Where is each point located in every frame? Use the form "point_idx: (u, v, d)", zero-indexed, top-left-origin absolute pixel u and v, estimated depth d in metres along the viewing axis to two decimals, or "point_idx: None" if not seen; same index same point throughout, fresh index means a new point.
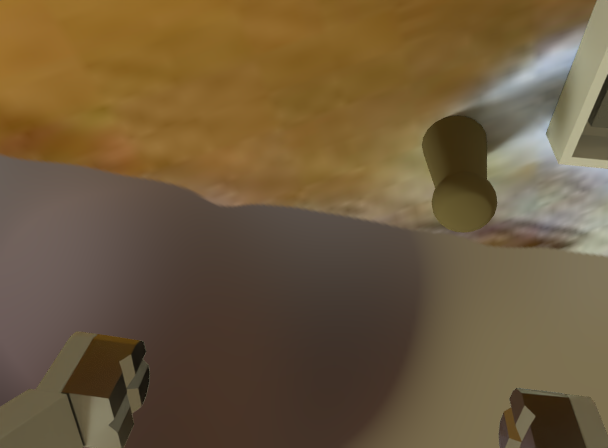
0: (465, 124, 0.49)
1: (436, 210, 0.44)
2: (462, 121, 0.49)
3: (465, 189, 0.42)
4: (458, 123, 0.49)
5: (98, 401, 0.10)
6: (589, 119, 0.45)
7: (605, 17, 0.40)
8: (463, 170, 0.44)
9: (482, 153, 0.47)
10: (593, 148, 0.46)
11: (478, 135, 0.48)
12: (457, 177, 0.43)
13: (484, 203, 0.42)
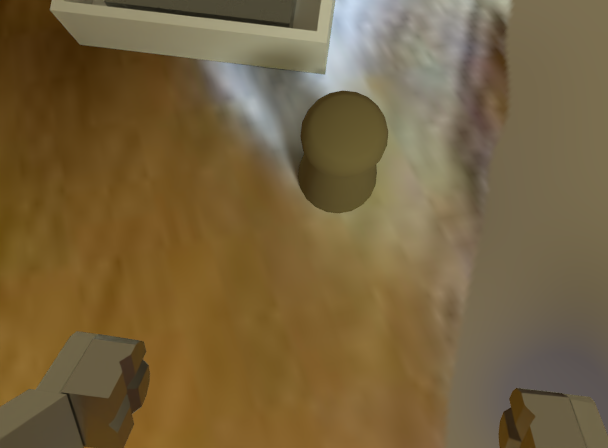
0: None
1: (345, 167, 0.30)
2: (299, 166, 0.40)
3: (306, 132, 0.31)
4: (299, 169, 0.40)
5: (98, 401, 0.10)
6: None
7: (172, 39, 0.40)
8: None
9: None
10: None
11: None
12: None
13: (326, 104, 0.31)
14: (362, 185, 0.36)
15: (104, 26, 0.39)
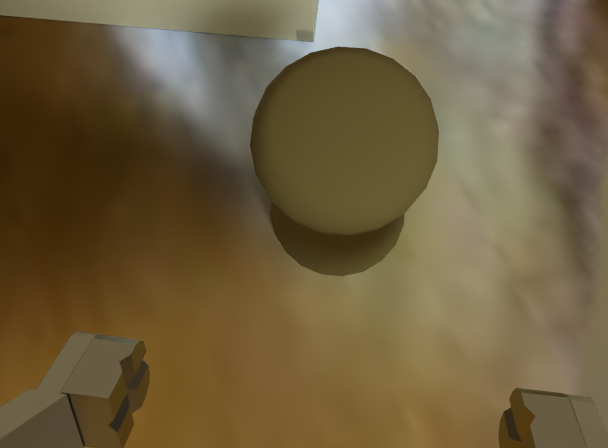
0: None
1: (347, 215, 0.14)
2: None
3: (259, 137, 0.14)
4: None
5: (98, 401, 0.10)
6: None
7: None
8: None
9: None
10: None
11: None
12: (256, 168, 0.15)
13: (300, 74, 0.14)
14: (382, 235, 0.19)
15: None
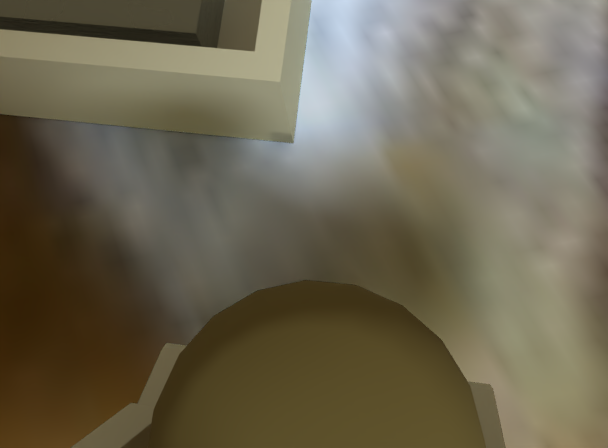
0: None
1: None
2: None
3: None
4: None
5: None
6: None
7: None
8: None
9: None
10: None
11: None
12: None
13: (229, 366, 0.07)
14: None
15: None
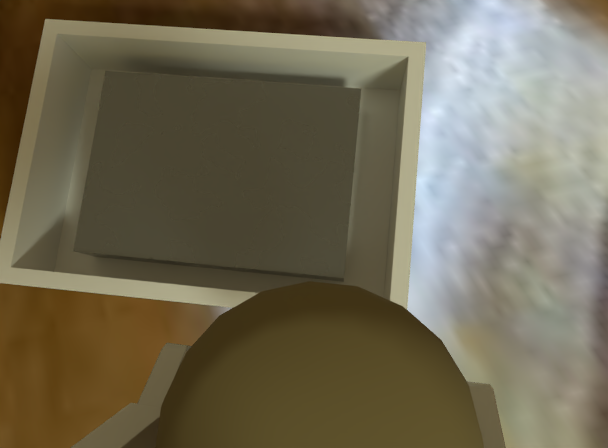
0: None
1: None
2: None
3: None
4: None
5: None
6: (339, 278, 0.27)
7: None
8: None
9: None
10: (389, 261, 0.27)
11: None
12: None
13: (236, 363, 0.08)
14: None
15: None
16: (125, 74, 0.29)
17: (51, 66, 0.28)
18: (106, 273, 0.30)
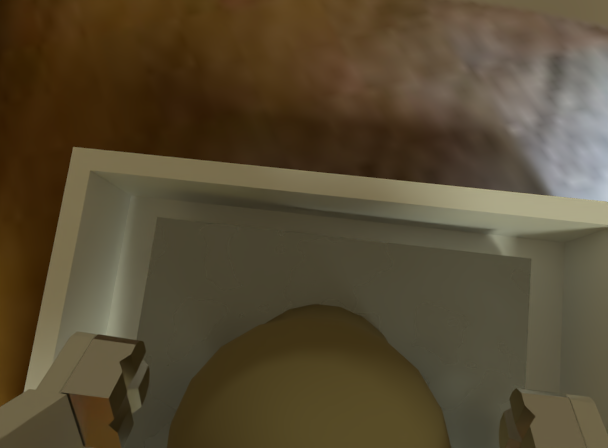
0: None
1: None
2: None
3: None
4: None
5: (98, 401, 0.10)
6: None
7: None
8: None
9: None
10: None
11: None
12: None
13: (235, 395, 0.09)
14: None
15: None
16: (185, 223, 0.20)
17: (81, 220, 0.19)
18: None
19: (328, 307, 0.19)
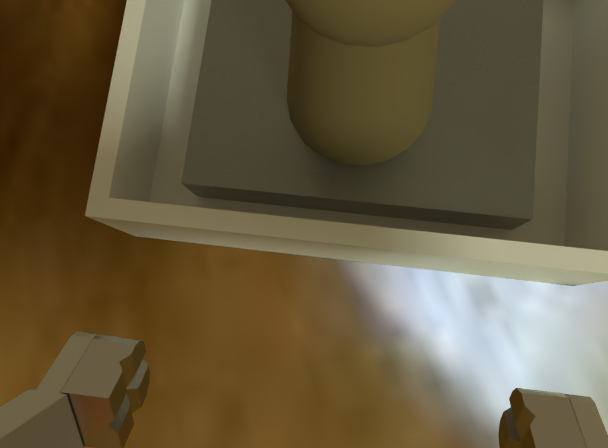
0: None
1: None
2: None
3: None
4: None
5: (98, 401, 0.10)
6: (519, 222, 0.21)
7: (305, 248, 0.22)
8: None
9: None
10: (589, 199, 0.21)
11: None
12: None
13: None
14: (411, 92, 0.17)
15: (183, 231, 0.21)
16: None
17: None
18: None
19: None
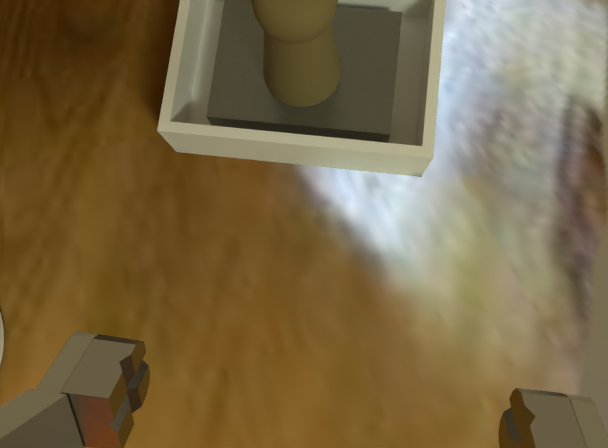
0: None
1: (293, 24, 0.30)
2: None
3: None
4: (263, 62, 0.40)
5: (98, 401, 0.10)
6: (386, 137, 0.40)
7: (273, 151, 0.41)
8: None
9: None
10: (420, 124, 0.40)
11: None
12: (253, 10, 0.32)
13: None
14: (321, 65, 0.36)
15: (207, 141, 0.40)
16: (239, 0, 0.42)
17: None
18: None
19: None
